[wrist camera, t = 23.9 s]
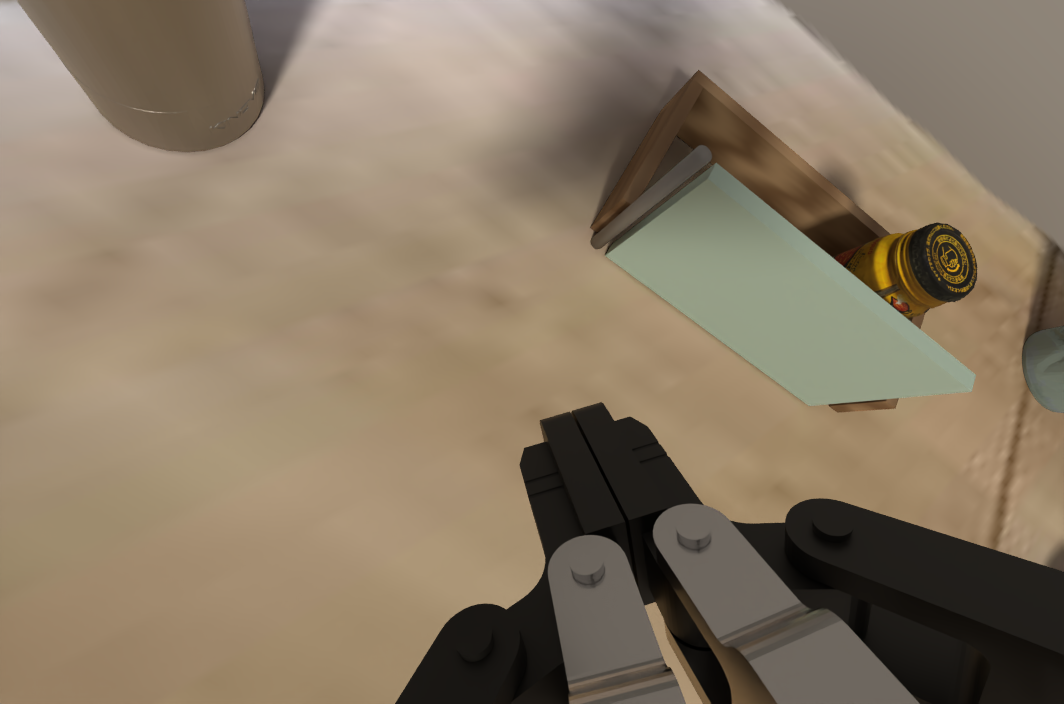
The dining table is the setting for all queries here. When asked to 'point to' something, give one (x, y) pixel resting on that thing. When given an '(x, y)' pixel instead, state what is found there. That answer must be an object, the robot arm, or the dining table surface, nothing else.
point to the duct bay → (750, 177)
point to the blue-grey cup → (1045, 367)
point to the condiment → (915, 268)
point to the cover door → (774, 293)
